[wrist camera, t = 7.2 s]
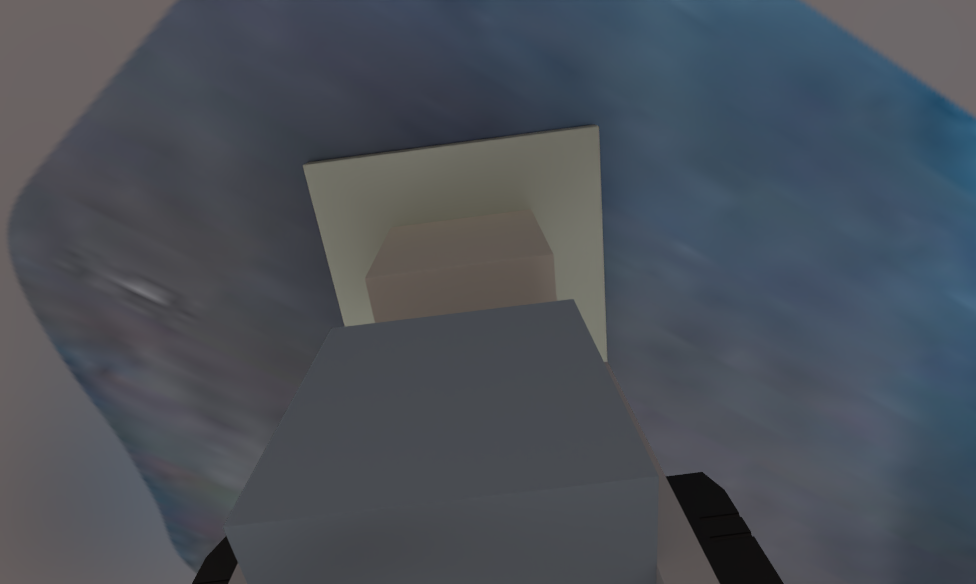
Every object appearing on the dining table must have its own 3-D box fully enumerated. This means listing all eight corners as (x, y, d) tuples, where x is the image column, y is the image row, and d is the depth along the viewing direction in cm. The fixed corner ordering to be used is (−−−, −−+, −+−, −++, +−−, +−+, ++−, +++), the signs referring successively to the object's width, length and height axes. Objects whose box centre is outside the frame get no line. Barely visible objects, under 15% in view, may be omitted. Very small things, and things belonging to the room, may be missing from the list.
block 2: (573, 298, 12) (658, 475, 7) (583, 486, 15) (653, 730, 9) (331, 328, 12) (222, 527, 7) (379, 510, 15) (327, 767, 9)
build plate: (594, 124, 21) (599, 126, 20) (603, 371, 26) (607, 379, 25) (308, 162, 21) (302, 165, 20) (369, 400, 26) (366, 410, 25)
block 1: (531, 209, 21) (553, 254, 16) (542, 333, 24) (565, 411, 18) (390, 227, 21) (364, 278, 16) (415, 350, 24) (400, 431, 18)
